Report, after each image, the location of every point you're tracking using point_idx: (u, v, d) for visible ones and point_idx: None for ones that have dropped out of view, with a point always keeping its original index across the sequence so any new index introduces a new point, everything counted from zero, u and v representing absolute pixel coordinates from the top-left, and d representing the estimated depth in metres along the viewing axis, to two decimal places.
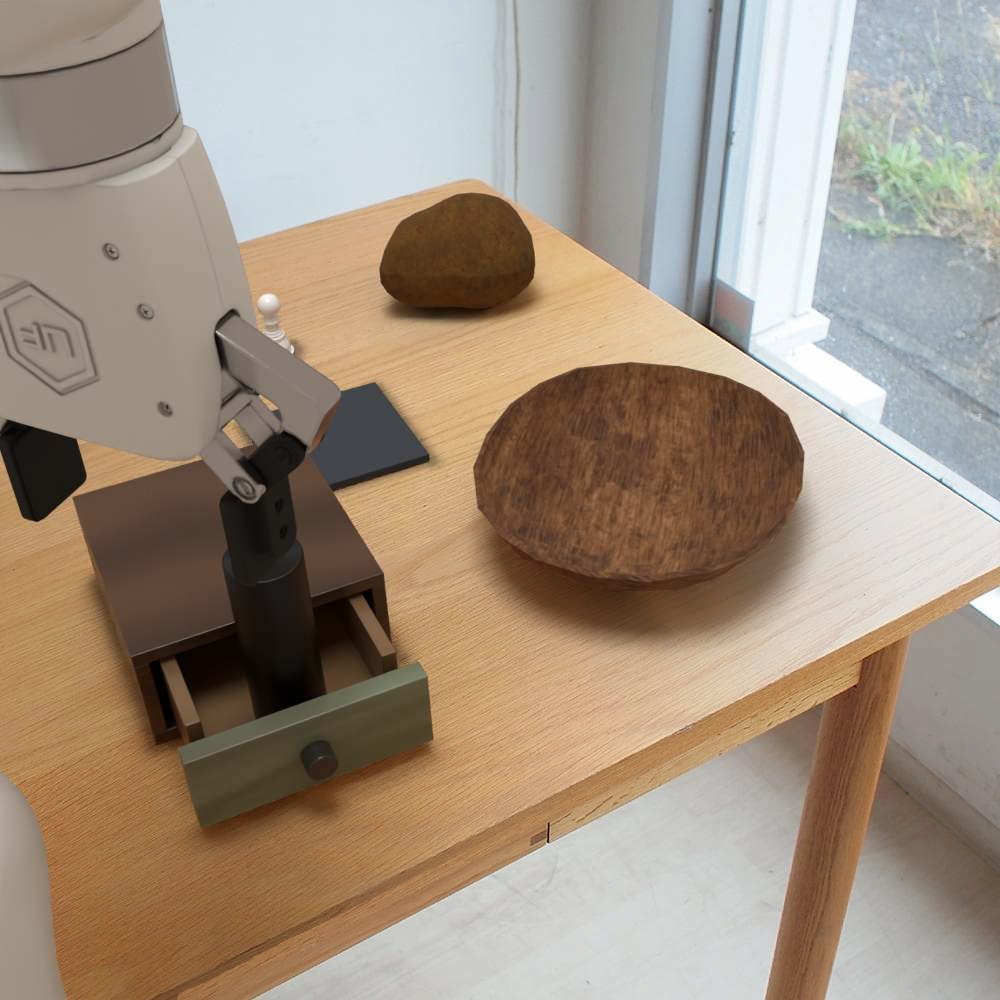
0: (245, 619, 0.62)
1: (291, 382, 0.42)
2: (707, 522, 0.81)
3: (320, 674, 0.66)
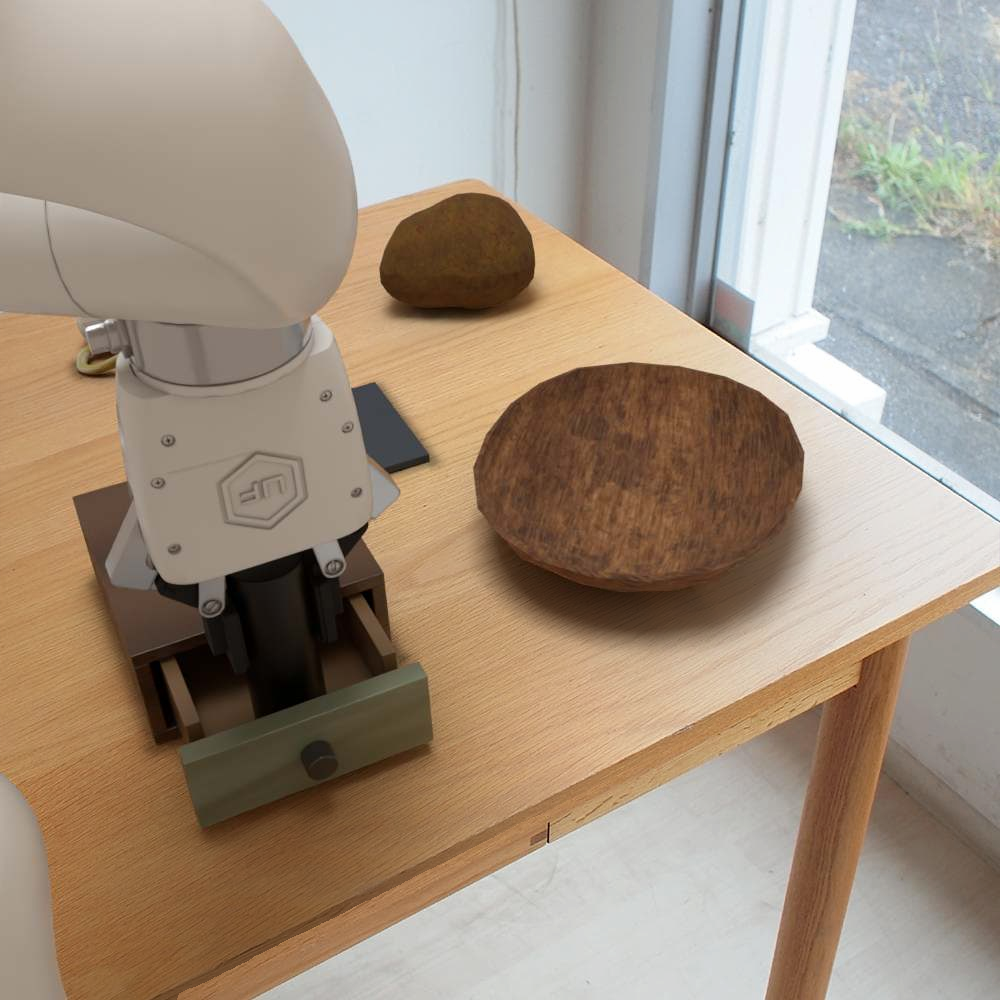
0: (245, 619, 0.62)
1: (386, 476, 0.62)
2: (707, 522, 0.81)
3: (320, 674, 0.66)
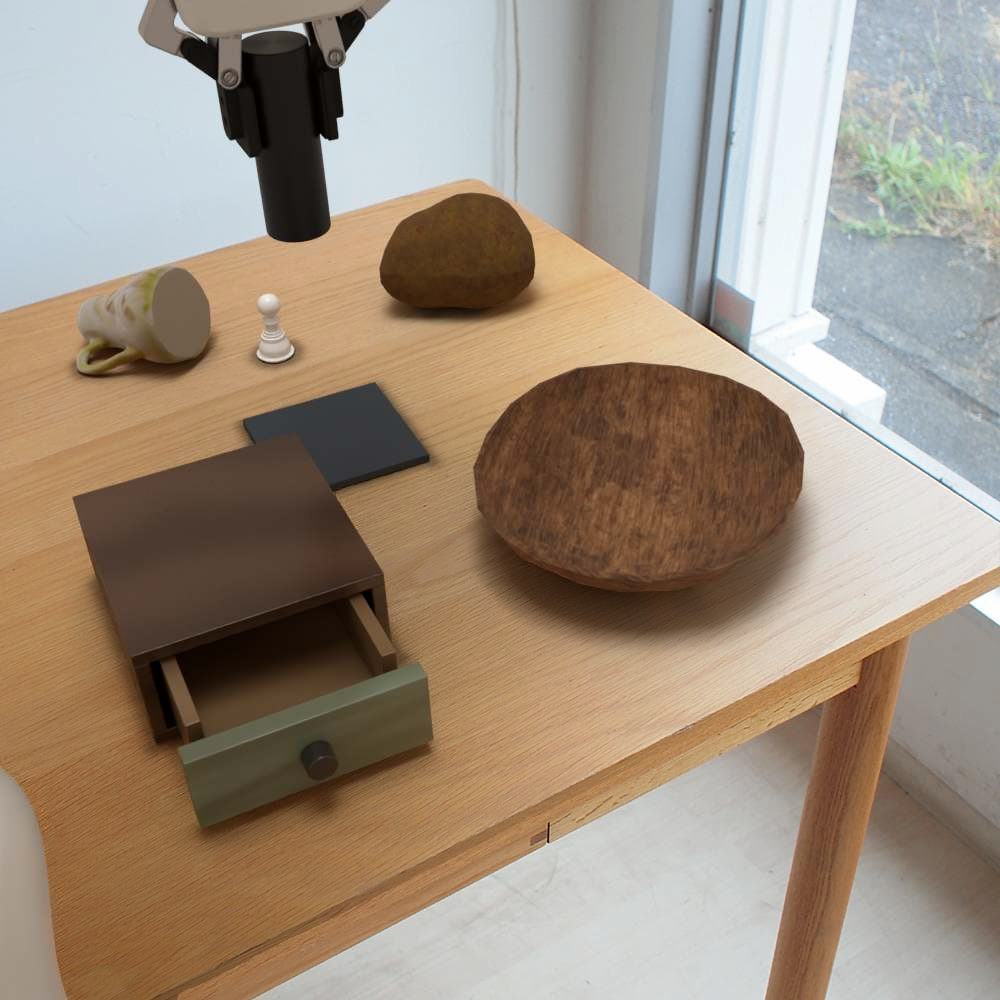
0: (258, 99, 0.71)
1: None
2: (707, 522, 0.81)
3: (323, 176, 0.76)
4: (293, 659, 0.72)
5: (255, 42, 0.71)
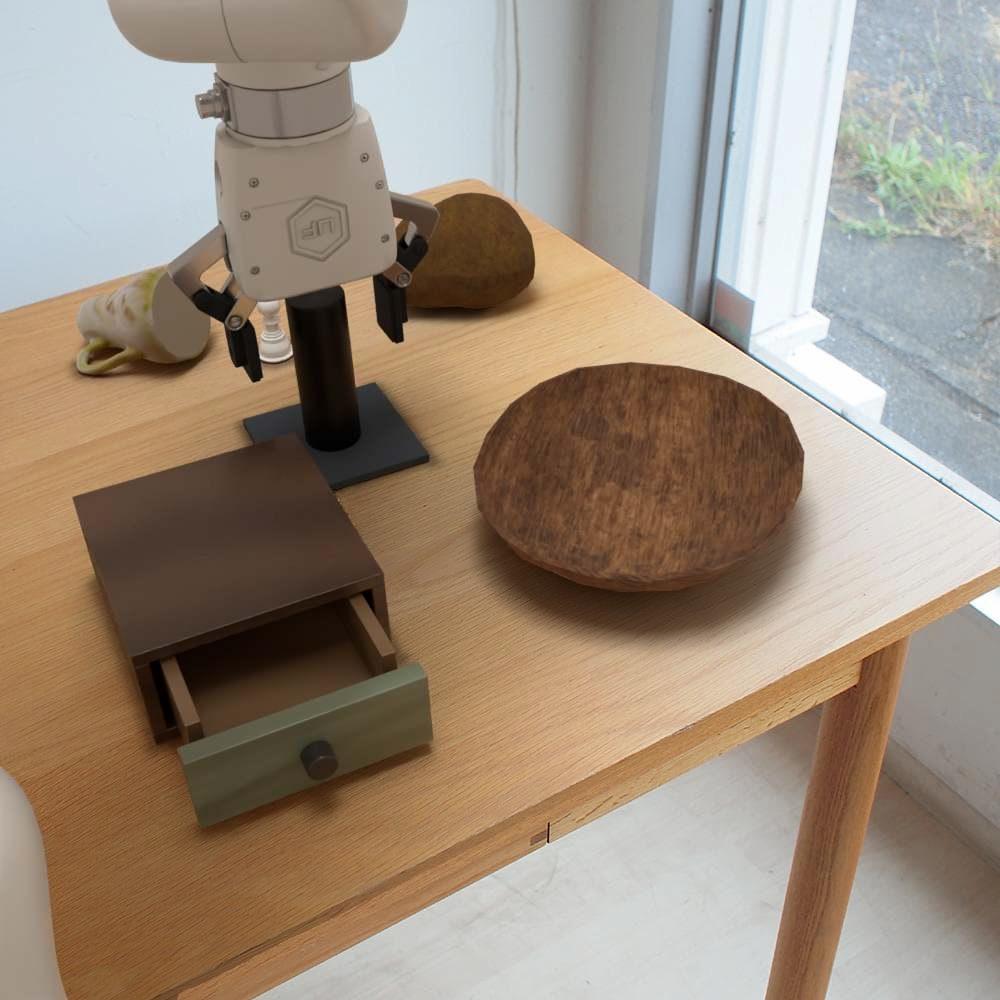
0: (301, 342, 0.84)
1: (422, 204, 0.83)
2: (707, 522, 0.81)
3: (355, 397, 0.88)
4: (293, 659, 0.72)
5: None
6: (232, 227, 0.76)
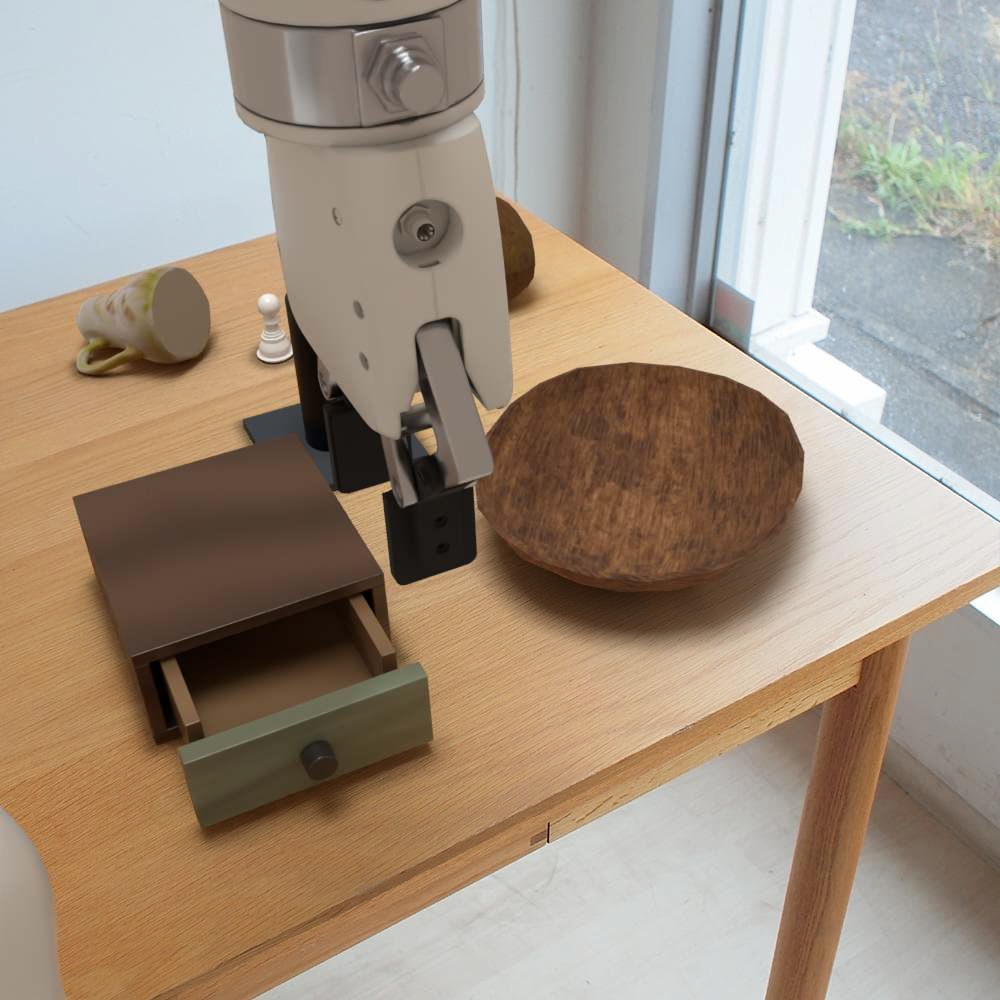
0: (301, 342, 0.84)
1: None
2: (707, 522, 0.81)
3: None
4: (293, 659, 0.72)
5: None
6: (494, 286, 0.40)
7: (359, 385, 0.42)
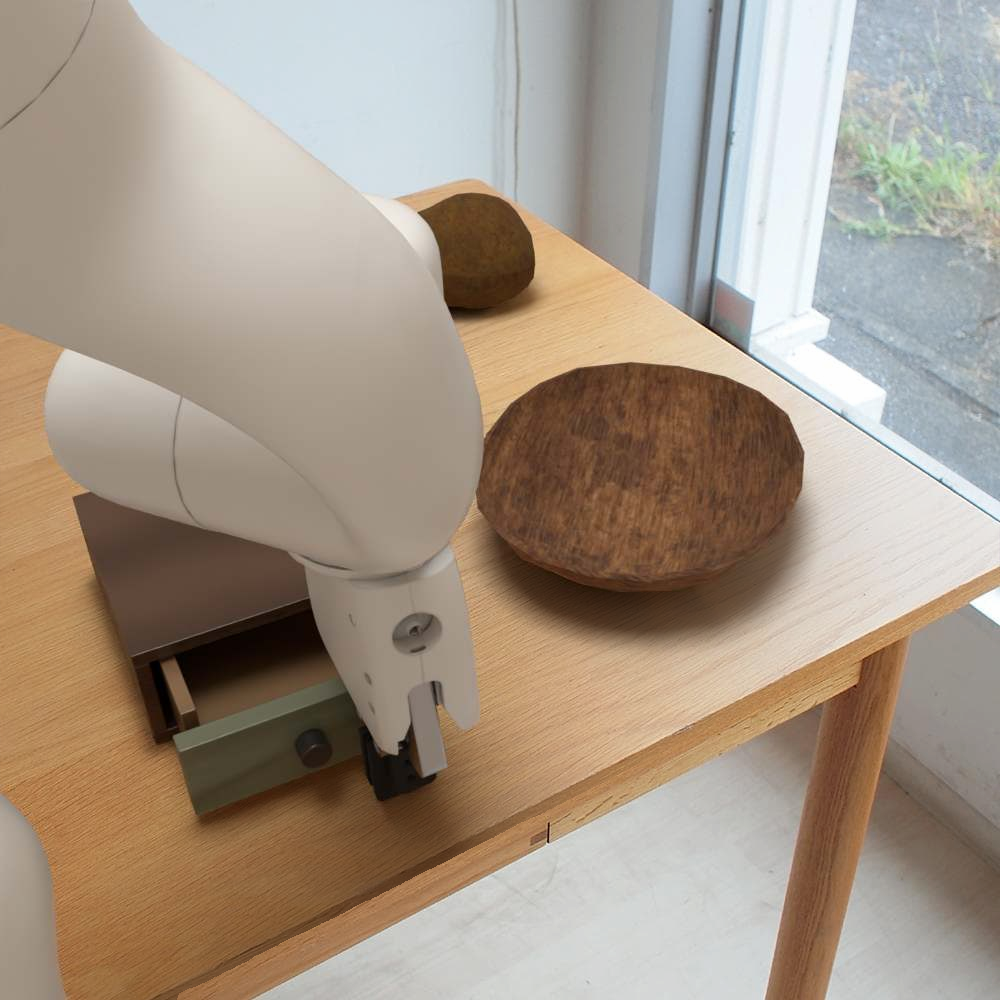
0: None
1: None
2: (707, 522, 0.81)
3: None
4: (288, 649, 0.72)
5: None
6: (465, 657, 0.56)
7: (368, 717, 0.57)
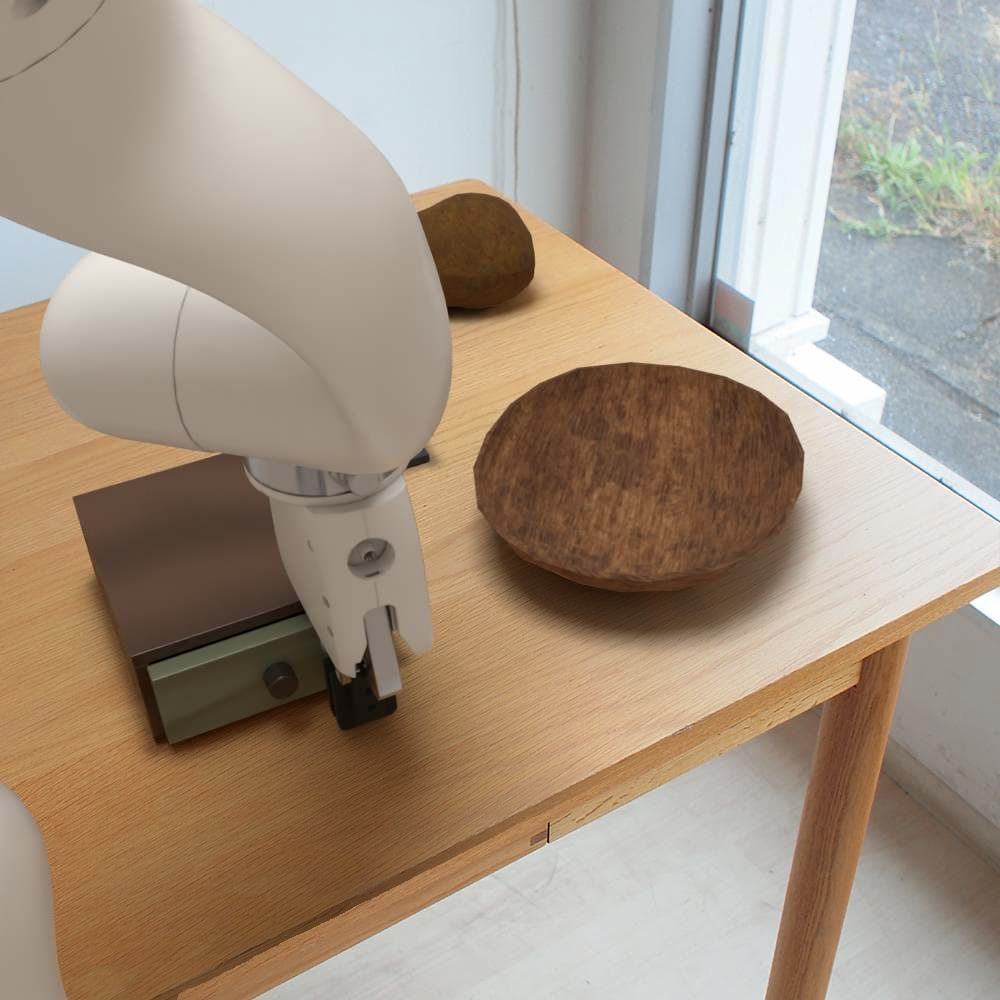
0: None
1: None
2: (707, 522, 0.81)
3: None
4: None
5: None
6: (417, 583, 0.59)
7: (327, 642, 0.61)
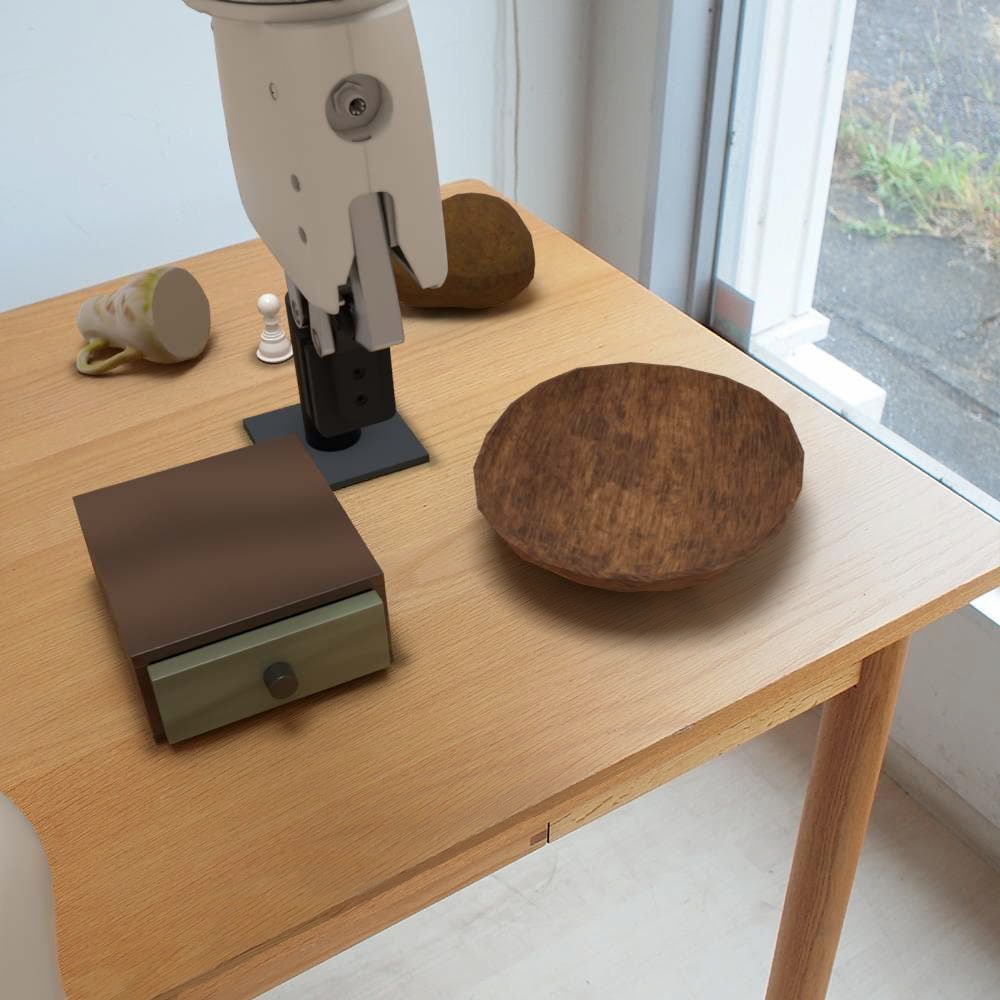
0: None
1: None
2: (707, 522, 0.81)
3: None
4: None
5: None
6: (425, 163, 0.42)
7: (299, 261, 0.44)
